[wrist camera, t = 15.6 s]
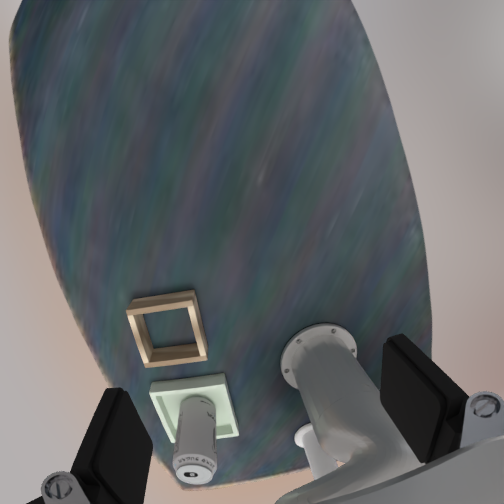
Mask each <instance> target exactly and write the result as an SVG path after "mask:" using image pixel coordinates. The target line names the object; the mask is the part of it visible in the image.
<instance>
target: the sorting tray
mask: <svg viewBox="0 0 504 504" xmlns="http://www.w3.org/2000/svg"><path fill="white" fill-rule="evenodd" d="M149 394H150V396H151V399H152V401H153V403H154V406H155V408H156V410H157V412H158V415H159V417H160V419H161V421H162V424H163V426H164V428H165V430H166V432H167V434H168V436H169V438H170V441H171V443H175V440H176V432H177V424H178V417H179V409H180V405H181V404H182V402H183V401H185V400H186V399H188V398H190V397H194V396H199V397H204V398H206V399H208V400H209V401H210V402H211V403H212V404H213V405H214V406H215V408H216V439H218V438H226V437H234V436H239V429H238V422H237V419H236V415H235V411H234V408H233V404H232V400H231V397H230V393H229V389H228V385H227V381H226V377H225V374H224V373H220V374H213V375H206V376H199V377H192V378H183V379H175V380H166V381H156V382H152V384H151V388H150V391H149Z"/></svg>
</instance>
